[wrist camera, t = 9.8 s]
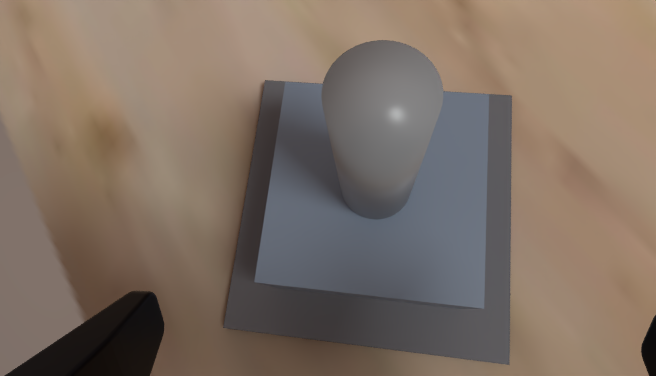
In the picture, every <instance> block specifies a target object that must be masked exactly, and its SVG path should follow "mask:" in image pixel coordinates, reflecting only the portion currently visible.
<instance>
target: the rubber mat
mask: <svg viewBox="0 0 656 376" xmlns="http://www.w3.org/2000/svg"><path fill="white" fill-rule="evenodd" d="M297 83H301V82H297ZM313 84H317V83H313ZM284 87H285V82H284V81H268V80H265V84H264V90H263V96H262V102H261V108H260V114H259V120H258V126H257V132H256V137H255V143H254V149H253V155H252V161H251V167H250V173H249V179H248V185H247V191H246V197H245V203H244V208H243V214H242V220H241V226H240V232H239V238H238V244H237V250H236V256H235V262H234V268H233V274H232V279H231V285H230V291H229V297H228V303H227V309H226V315H225V321H224V327H223V328H228V329H236V330H244V331H251V332H259V333H267V334H275V335H282V336H290V337H298V338H306V339H313V340H321V341H329V342H337V343H344V344H352V345H360V346H368V347H375V348H383V349H391V350H399V351H406V352H414V353H422V354H430V355H437V356H445V357H453V358H461V359H468V360H476V361H484V362H492V363H499V364H507V365H509V353H510V241H511V129H512V96H510V95H494V94H489V121H488V164H487V208H486V251H485V295H484V309H455V308H446V307H438V306H429V305H420V304H412V303H403V302H395V301H386V300H377V299H369V298H360V297H352V296H343V295H334V294H326V293H317V292H309V291H300V290H291V289H283V288H275V287H271V286H267V285H263V284H259V283H255V282H254V280H255V274H256V267H257V261H258V255H259V248H260V242H261V235H262V229H263V222H264V216H265V209H266V203H267V197H268V190H269V184H270V177H271V171H272V164H273V158H274V152H275V145H276V139H277V132H278V126H279V119H280V113H281V106H282V100H283V94H284ZM443 92H445V91H443ZM459 93H462V92H459ZM475 94H478V93H475Z"/></svg>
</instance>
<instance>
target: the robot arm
mask: <svg viewBox="0 0 656 376" xmlns="http://www.w3.org/2000/svg"><path fill="white" fill-rule="evenodd" d="M163 333H164V321H163V317H162V314H161V311H160V307H159V304H158V300H157V297H156V295H155V294H154V293H153V292H150V291H132V292H130V293H128V294H126V295H125V296H123V297H122V298H120V299H119V300H117V301H116V302H114V303H113V304H111V305H110V306H108V307H107V308H105V309H104V310H102V311H101V312H99V313H98V314H96V315H95V316H93V317H92V318H90V319H89V320H87V321H86V322H84V323H83V324H81V325H80V326H78V327H77V328H75V329H74V330H72V331H71V332H69V333H68V334H66V335H65V336H63V337H62V338H60V339H59V340H57V341H56V342H54V343H53V344H51V345H50V346H48V347H47V348H46V349H44V350H42V351H41V352H39V353H38V354H36V355H35V356H33V357H32V358H30V359H29V360H27V361H26V362H25V363H23V364H22V365H20V366H18V367H17V368H15V369H14V370H13V371H11V372H10V373H8V374H7V375H5V376H150V374H151V371H152V368H153V364H154V361H155V358H156V355H157V352H158V349H159V346H160V343H161V340H162V337H163ZM641 352H642V358H643V361H644V364H645V366H646V369H647V371H648V374H649V376H656V315H655V316H654V318H653V320H652V323H651V325H650V327H649V329H648V332H647V334H646V336H645V338H644V341H643V343H642V348H641Z"/></svg>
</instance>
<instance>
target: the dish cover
mask: <svg viewBox="0 0 656 376" xmlns="http://www.w3.org/2000/svg"><path fill="white" fill-rule="evenodd" d="M488 121H489V94H475V93H459V92H443V86H442V81H441V78H440V75H439V73H438V71H437V69H436V68H435V66H434V65H433V63H432V62H431V61H430V60H429V59H428V58H427V57H426V56H425V55H424V54H423V53H421V52H420V51H418V50H417V49H415V48H413V47H411V46H409V45H406V44H403V43H400V42H396V41H388V40H378V41H370V42H366V43H363V44H360V45H357V46H355V47H353V48H351V49H349V50H348V51H346V52H345V53H343V54H342V55H341V56H340V57H339V58H338V59H337V60H336V61H335V62H334V63H333V64H332V66H331V67H330V68H329V70H328V72H327V74H326V76H325V79H324V82H323V84H313V83H297V82H285V87H284V94H283V100H282V106H281V113H280V119H279V126H278V132H277V139H276V145H275V152H274V158H273V164H272V171H271V177H270V184H269V190H268V197H267V203H266V209H265V216H264V222H263V229H262V235H261V242H260V248H259V255H258V261H257V267H256V274H255V280H254V282H255V283H259V284H263V285H267V286H271V287H275V288H283V289H291V290H300V291H309V292H317V293H326V294H334V295H343V296H352V297H360V298H369V299H377V300H386V301H395V302H403V303H412V304H420V305H429V306H438V307H446V308H455V309H484V295H485V251H486V208H487V164H488Z"/></svg>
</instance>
